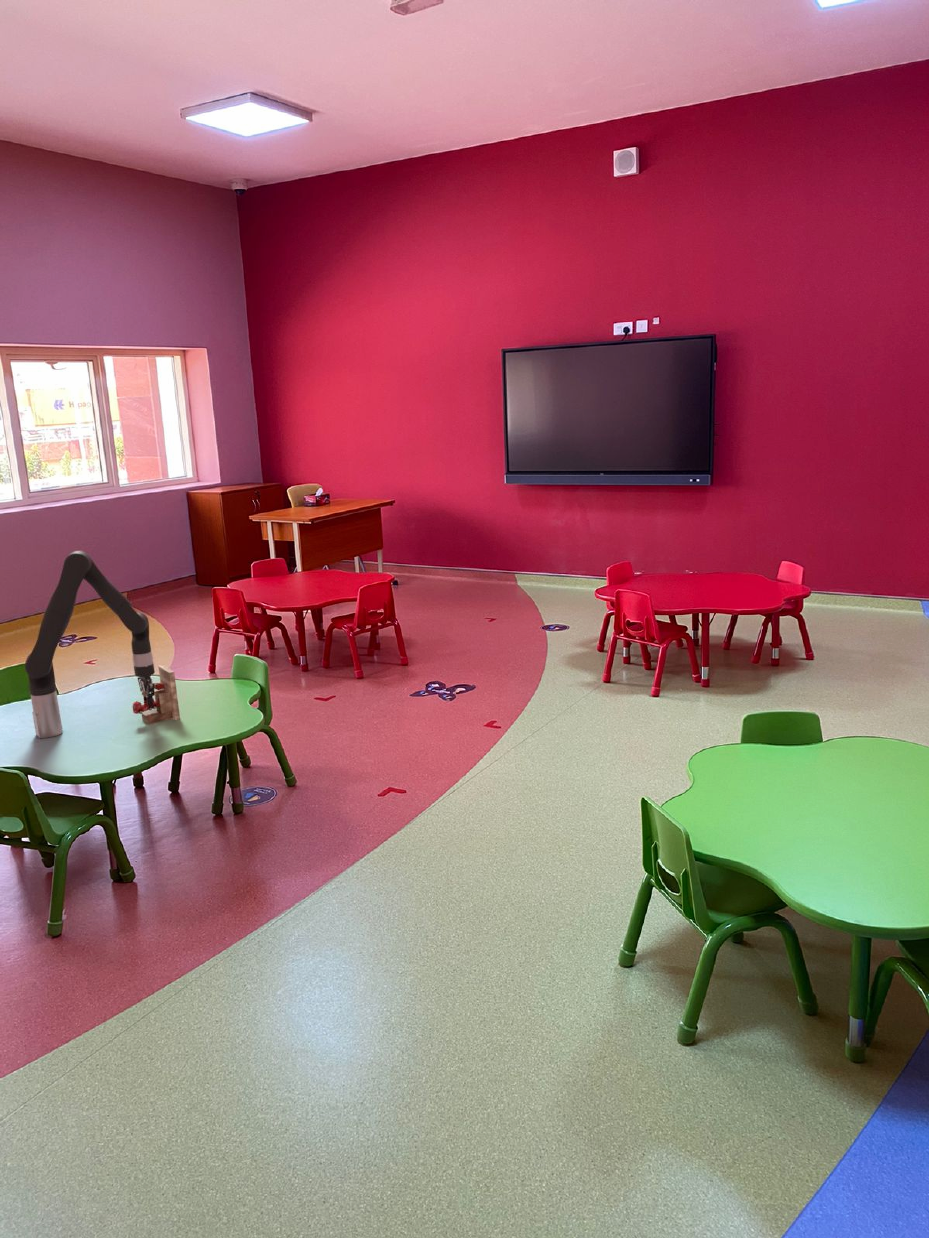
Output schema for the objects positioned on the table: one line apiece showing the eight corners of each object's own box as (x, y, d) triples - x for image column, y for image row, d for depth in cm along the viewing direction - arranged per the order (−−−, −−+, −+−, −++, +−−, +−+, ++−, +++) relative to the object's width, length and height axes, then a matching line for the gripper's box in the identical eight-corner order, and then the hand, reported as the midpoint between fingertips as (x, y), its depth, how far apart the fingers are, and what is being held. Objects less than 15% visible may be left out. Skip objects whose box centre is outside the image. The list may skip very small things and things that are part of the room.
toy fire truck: (132, 713, 365) (128, 690, 363) (163, 703, 375) (159, 681, 373) (136, 715, 363) (133, 691, 361) (167, 705, 373) (164, 682, 371)
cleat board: (150, 726, 364) (144, 678, 359) (140, 717, 374) (133, 671, 369) (180, 719, 370) (174, 671, 366) (169, 710, 381) (163, 664, 376)
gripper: (128, 661, 368) (134, 701, 372) (139, 669, 356) (145, 710, 361) (147, 657, 372) (152, 697, 376) (158, 664, 361) (164, 706, 365)
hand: (148, 703), depth 368 cm, fingers closed on toy fire truck, 3 cm apart
